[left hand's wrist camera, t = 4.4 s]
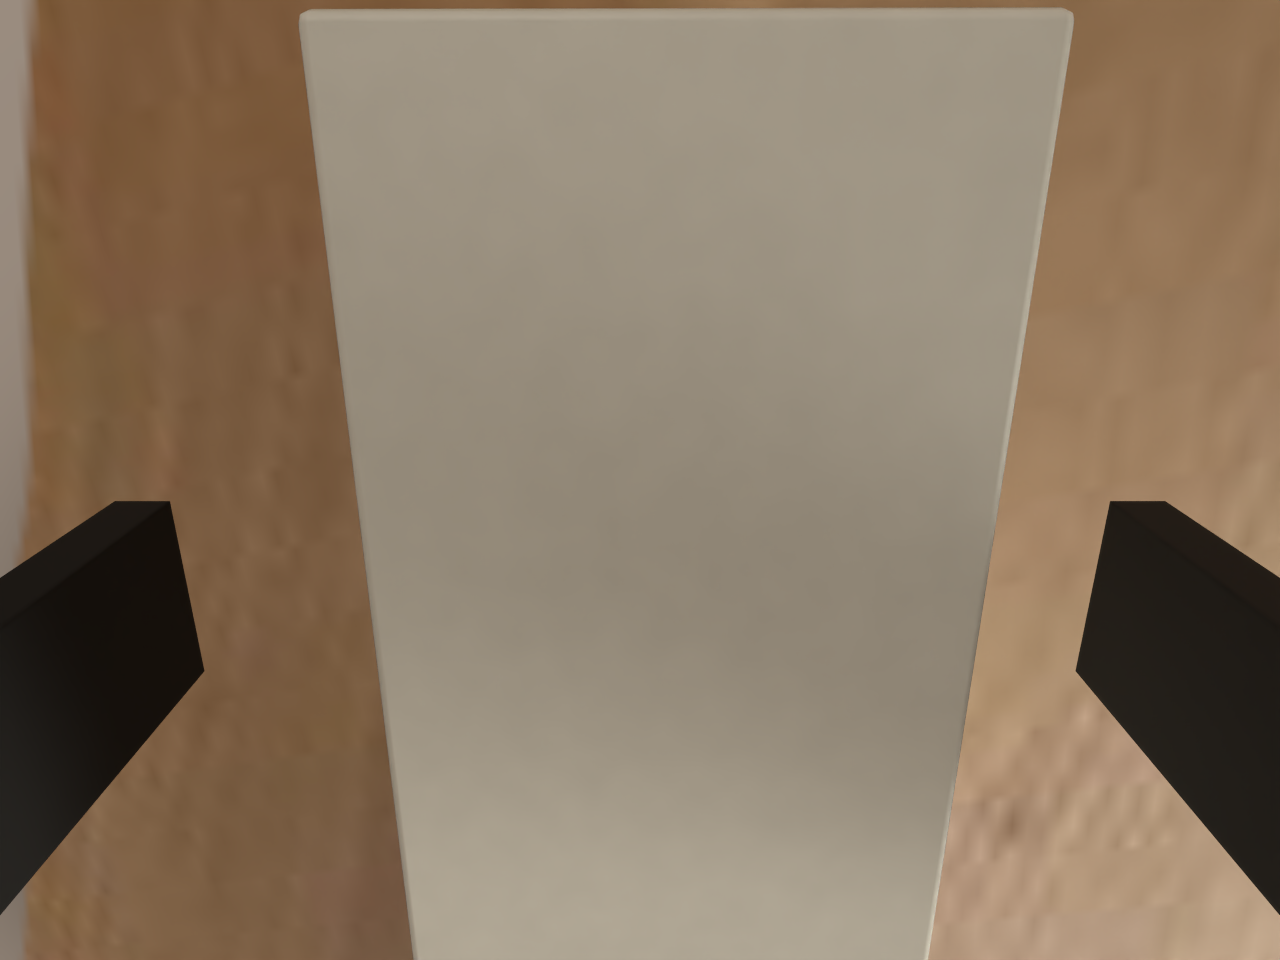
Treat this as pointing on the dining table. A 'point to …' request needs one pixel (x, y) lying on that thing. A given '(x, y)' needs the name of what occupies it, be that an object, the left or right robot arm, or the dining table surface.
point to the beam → (679, 451)
